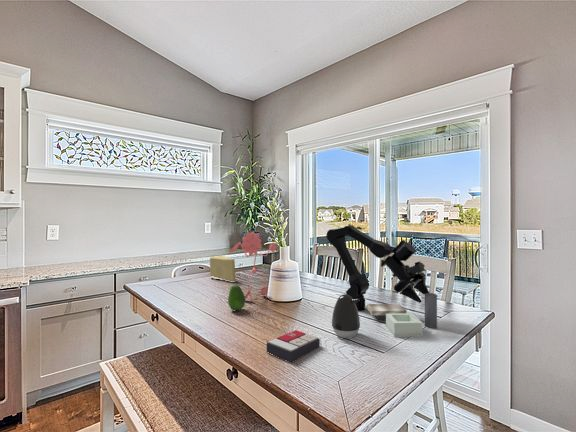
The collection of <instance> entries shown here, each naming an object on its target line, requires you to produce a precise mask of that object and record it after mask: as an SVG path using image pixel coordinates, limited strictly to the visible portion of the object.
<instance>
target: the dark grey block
mask: <svg viewBox="0 0 576 432" xmlns="http://www.w3.org/2000/svg"><path fill="white" fill-rule="evenodd" d="M423 295H424V297H423V299H424V303H423V304H424V306H423V307H424V327H425V328H427V329H430V330H432V329H433V330H435V329H437V328H438V297H437V296H438V294H437V293H433V292H429V293H425V294H423Z"/></svg>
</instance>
